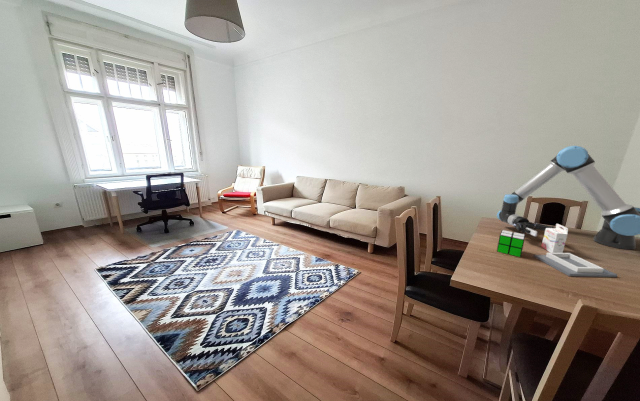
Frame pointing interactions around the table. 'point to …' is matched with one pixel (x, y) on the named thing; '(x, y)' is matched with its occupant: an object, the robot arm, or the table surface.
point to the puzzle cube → (511, 243)
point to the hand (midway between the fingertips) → (549, 234)
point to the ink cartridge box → (555, 239)
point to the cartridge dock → (574, 265)
